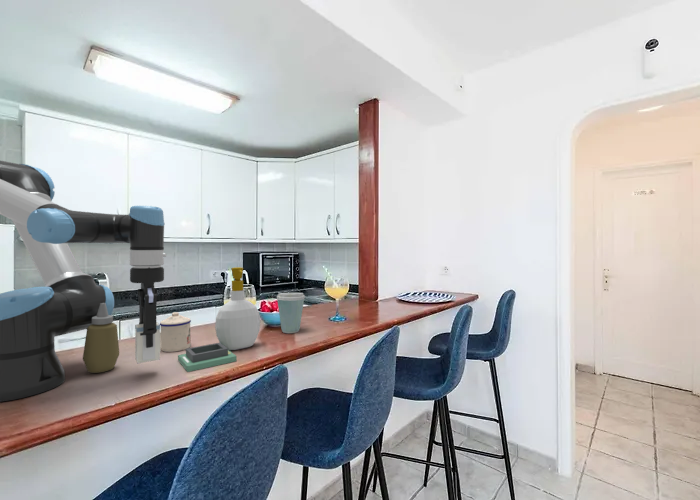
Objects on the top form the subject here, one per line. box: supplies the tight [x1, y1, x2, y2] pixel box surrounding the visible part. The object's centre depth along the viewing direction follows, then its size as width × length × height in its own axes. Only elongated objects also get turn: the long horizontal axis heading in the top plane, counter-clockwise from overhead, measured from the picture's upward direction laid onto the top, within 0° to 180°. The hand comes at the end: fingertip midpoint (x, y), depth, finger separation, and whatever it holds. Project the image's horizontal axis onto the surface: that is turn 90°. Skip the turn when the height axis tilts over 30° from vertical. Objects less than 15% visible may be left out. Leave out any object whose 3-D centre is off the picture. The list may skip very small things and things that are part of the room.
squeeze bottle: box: [82, 303, 120, 374], centre depth 92 cm, size 8×8×18 cm
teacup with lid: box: [159, 311, 192, 353], centre depth 113 cm, size 12×9×12 cm
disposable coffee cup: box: [276, 292, 306, 334], centre depth 131 cm, size 11×11×15 cm
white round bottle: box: [214, 266, 261, 351], centre depth 110 cm, size 14×9×26 cm, turn 125°
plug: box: [134, 321, 162, 364], centre depth 89 cm, size 5×4×9 cm
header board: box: [177, 342, 237, 373], centre depth 99 cm, size 13×12×4 cm
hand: (147, 356), depth 89 cm, fingers closed on plug, 4 cm apart
